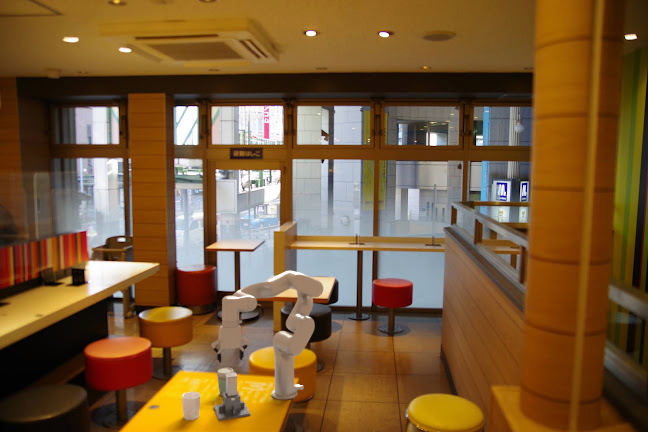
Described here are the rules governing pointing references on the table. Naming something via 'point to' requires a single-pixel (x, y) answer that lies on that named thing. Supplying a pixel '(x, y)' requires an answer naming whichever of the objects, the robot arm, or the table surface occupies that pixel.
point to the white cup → (191, 405)
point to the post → (231, 385)
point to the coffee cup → (223, 379)
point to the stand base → (231, 408)
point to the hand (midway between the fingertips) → (230, 360)
